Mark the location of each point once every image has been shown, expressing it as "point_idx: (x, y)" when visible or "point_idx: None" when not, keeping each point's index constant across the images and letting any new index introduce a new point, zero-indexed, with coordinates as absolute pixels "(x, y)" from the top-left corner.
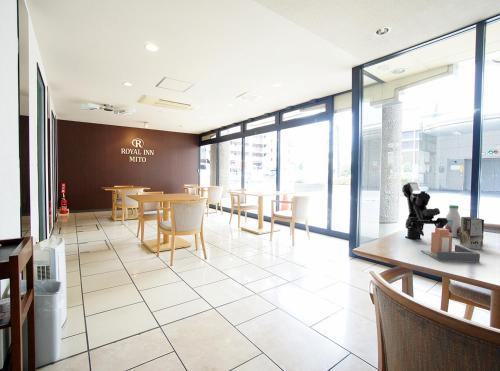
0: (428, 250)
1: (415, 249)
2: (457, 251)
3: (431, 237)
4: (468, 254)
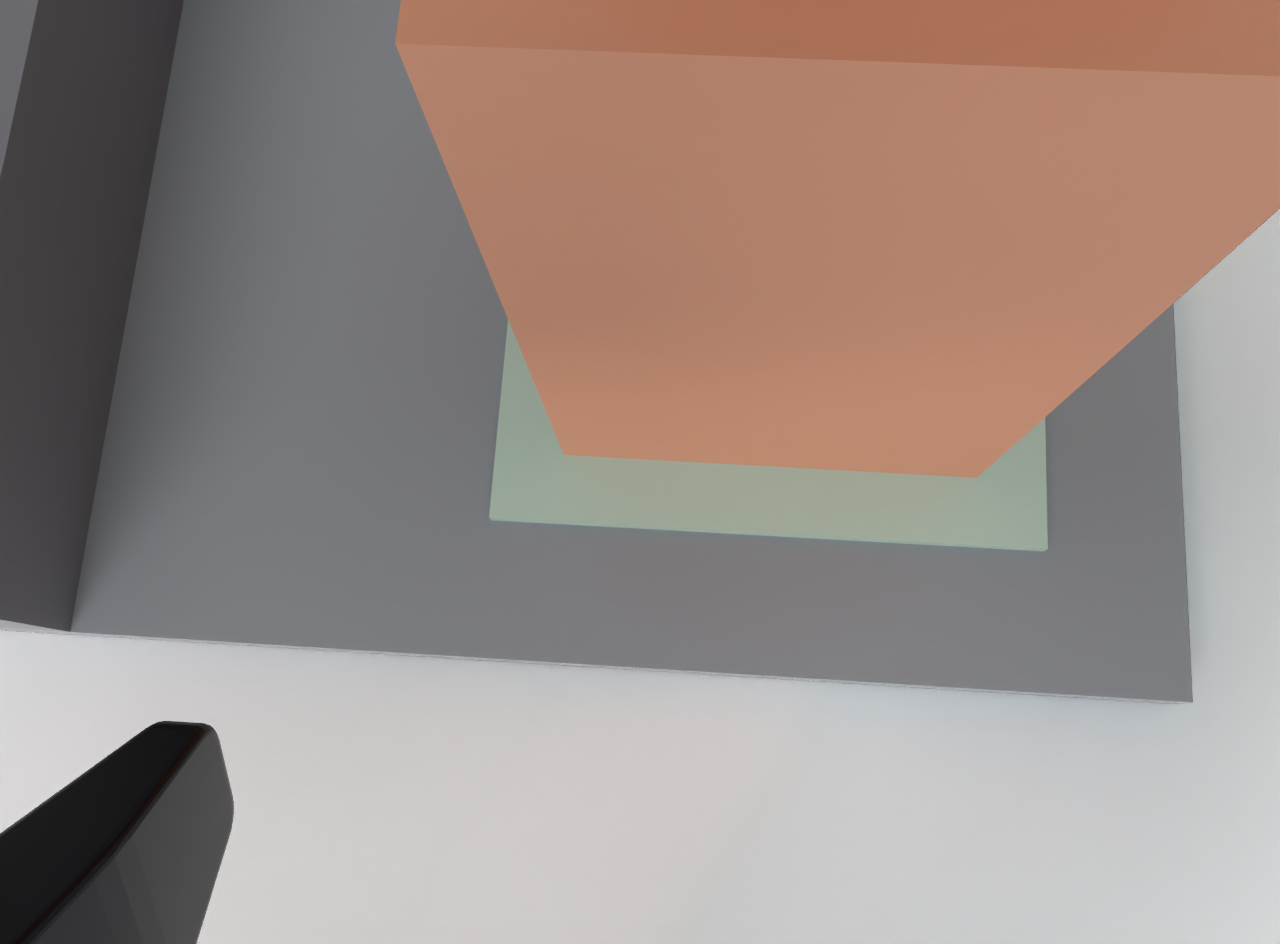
0: (937, 677)
1: (1273, 937)
2: (71, 475)
3: (1210, 257)
4: None
